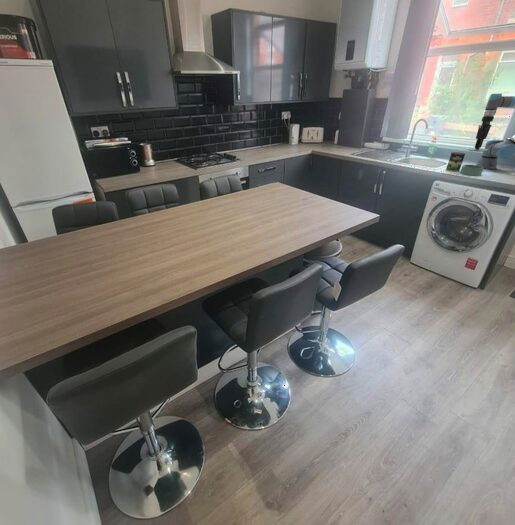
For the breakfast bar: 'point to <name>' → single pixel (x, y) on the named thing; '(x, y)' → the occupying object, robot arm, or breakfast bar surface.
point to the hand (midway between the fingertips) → (477, 147)
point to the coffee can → (455, 161)
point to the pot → (472, 170)
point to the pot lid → (477, 148)
